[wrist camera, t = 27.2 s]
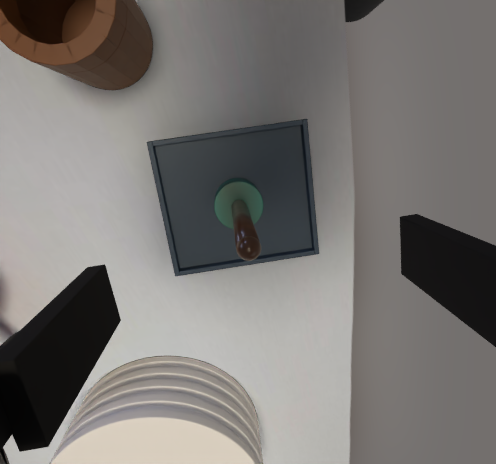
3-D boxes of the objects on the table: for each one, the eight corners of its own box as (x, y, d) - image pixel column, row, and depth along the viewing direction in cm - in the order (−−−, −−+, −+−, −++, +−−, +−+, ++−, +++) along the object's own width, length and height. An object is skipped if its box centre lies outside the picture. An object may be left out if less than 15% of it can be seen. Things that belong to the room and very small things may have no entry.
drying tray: (303, 119, 42) (307, 118, 41) (315, 249, 47) (319, 254, 45) (149, 141, 42) (146, 141, 40) (177, 271, 46) (175, 276, 45)
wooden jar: (141, -16, 38) (96, -103, 24) (161, 83, 40) (129, 55, 27) (48, -4, 37) (-51, -85, 24) (74, 95, 40) (-2, 73, 26)
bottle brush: (256, 174, 43) (286, 205, 23) (262, 218, 45) (295, 283, 24) (211, 181, 43) (200, 218, 23) (218, 225, 45) (215, 296, 24)
